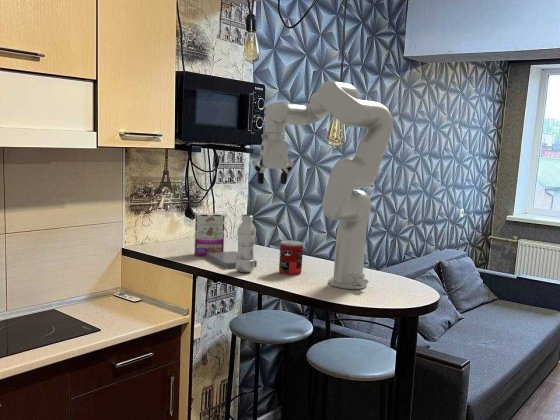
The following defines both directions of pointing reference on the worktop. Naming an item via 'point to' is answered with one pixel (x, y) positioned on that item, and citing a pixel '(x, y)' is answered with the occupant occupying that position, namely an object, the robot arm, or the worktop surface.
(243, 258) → the plastic bottle
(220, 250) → the candy bar box
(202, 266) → the worktop surface
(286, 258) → the canned food
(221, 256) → the slate board
